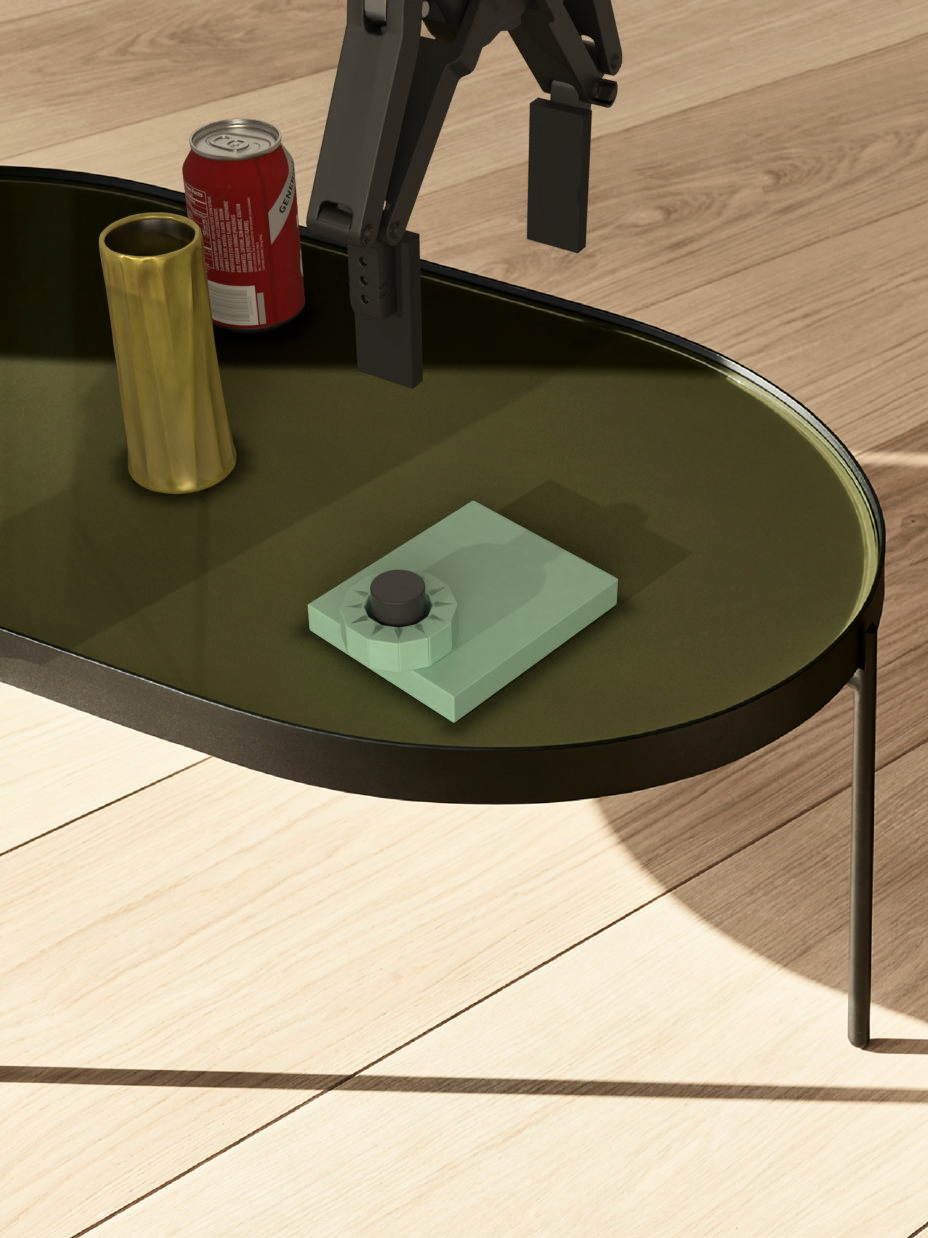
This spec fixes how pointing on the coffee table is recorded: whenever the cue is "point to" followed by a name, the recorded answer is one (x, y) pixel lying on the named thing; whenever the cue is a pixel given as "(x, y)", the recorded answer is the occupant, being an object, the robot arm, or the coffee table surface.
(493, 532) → the scale
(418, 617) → the tare button
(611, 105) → the robot arm
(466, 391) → the coffee table surface
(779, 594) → the coffee table surface
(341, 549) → the coffee table surface
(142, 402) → the vase
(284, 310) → the soda can
